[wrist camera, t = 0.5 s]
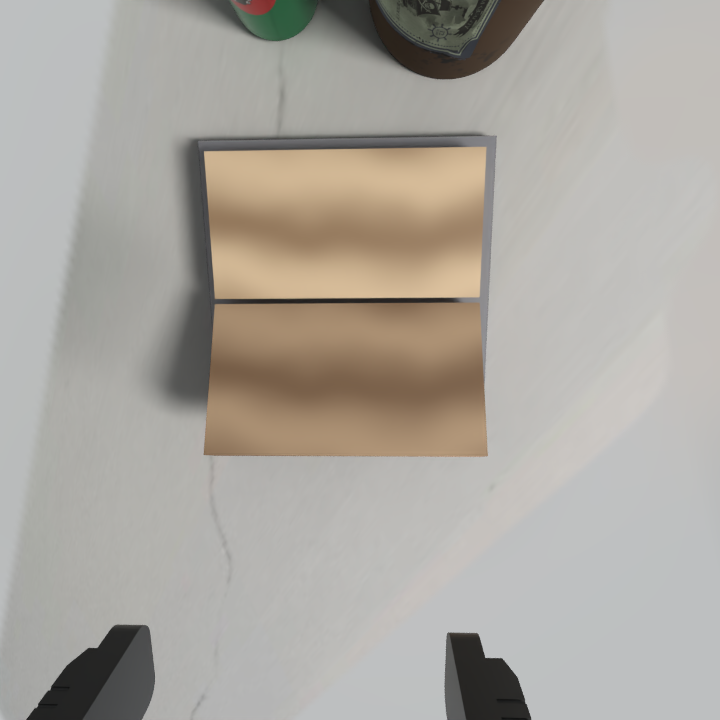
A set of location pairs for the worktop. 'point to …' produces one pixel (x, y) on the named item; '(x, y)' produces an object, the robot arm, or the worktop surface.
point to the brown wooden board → (346, 380)
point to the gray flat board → (366, 144)
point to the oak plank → (346, 222)
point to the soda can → (274, 16)
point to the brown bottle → (450, 32)
